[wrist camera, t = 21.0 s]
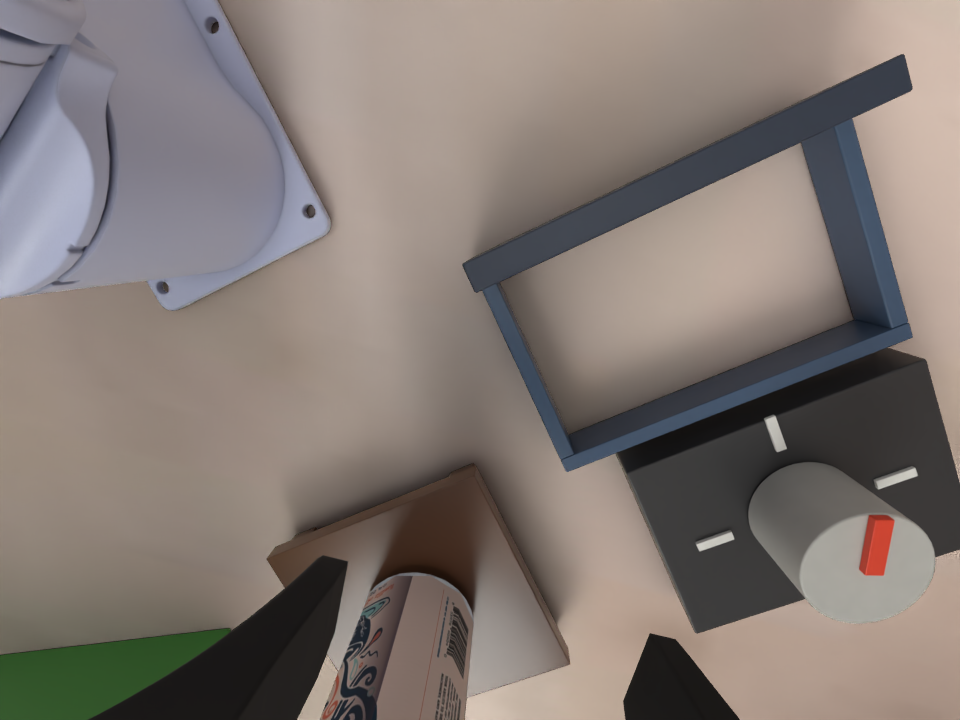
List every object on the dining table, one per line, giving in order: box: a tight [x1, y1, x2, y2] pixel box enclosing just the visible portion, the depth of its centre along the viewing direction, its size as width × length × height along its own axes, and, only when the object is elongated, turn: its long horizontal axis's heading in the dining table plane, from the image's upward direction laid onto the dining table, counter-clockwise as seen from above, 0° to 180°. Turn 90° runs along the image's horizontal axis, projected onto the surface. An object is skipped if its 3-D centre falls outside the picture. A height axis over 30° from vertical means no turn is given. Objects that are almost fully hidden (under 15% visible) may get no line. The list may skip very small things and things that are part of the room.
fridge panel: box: [616, 348, 960, 633], centre depth 20 cm, size 11×8×3 cm
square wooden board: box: [267, 463, 570, 698], centre depth 22 cm, size 10×10×2 cm
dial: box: [748, 462, 935, 624], centre depth 17 cm, size 4×4×4 cm
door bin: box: [462, 54, 913, 472], centre depth 17 cm, size 9×13×4 cm
